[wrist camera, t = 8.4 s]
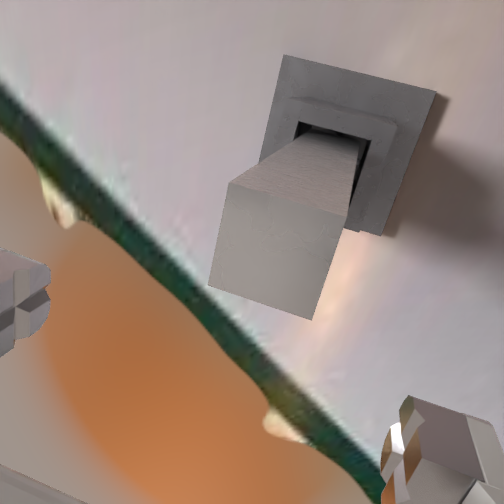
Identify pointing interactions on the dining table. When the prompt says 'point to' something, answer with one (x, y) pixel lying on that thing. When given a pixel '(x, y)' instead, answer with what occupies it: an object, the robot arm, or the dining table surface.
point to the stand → (352, 128)
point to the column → (286, 223)
